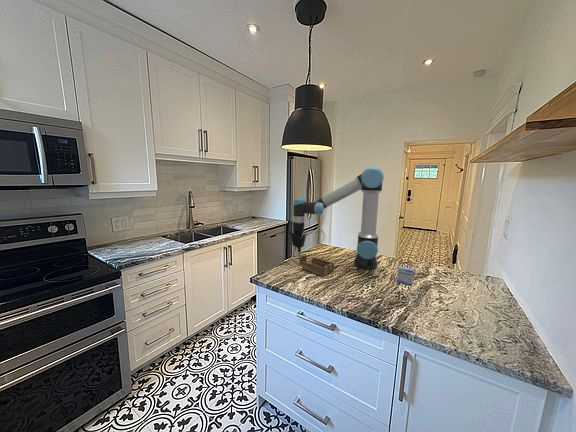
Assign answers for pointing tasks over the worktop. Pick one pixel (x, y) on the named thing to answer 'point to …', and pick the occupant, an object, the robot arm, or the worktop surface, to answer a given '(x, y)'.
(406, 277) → the medicine box
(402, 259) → the worktop surface
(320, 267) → the walnut box
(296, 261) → the cover plate
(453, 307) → the worktop surface
